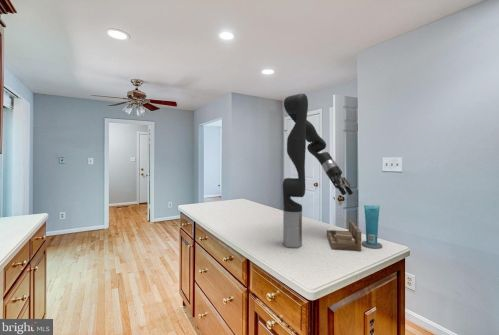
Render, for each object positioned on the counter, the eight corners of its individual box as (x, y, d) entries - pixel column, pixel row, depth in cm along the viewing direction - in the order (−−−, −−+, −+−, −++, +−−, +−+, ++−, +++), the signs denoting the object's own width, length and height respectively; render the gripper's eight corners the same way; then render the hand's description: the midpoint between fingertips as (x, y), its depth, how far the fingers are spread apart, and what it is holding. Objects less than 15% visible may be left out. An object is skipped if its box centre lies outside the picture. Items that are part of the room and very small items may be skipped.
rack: (361, 251, 116) (361, 232, 116) (331, 249, 119) (332, 230, 118) (351, 236, 137) (351, 220, 137) (326, 235, 140) (327, 219, 139)
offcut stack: (355, 249, 119) (355, 236, 118) (336, 248, 120) (336, 235, 120) (351, 243, 127) (351, 231, 127) (333, 242, 129) (333, 230, 129)
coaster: (384, 249, 118) (384, 247, 118) (364, 248, 120) (364, 246, 120) (378, 243, 127) (378, 241, 127) (359, 241, 129) (359, 240, 129)
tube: (375, 242, 126) (376, 204, 126) (381, 245, 122) (382, 206, 121) (361, 242, 126) (362, 204, 125) (366, 245, 121) (367, 206, 120)
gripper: (331, 164, 131) (348, 190, 124) (342, 166, 141) (359, 190, 134) (320, 172, 135) (336, 198, 128) (332, 173, 145) (347, 197, 138)
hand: (348, 194), depth 131 cm, fingers open, 8 cm apart
